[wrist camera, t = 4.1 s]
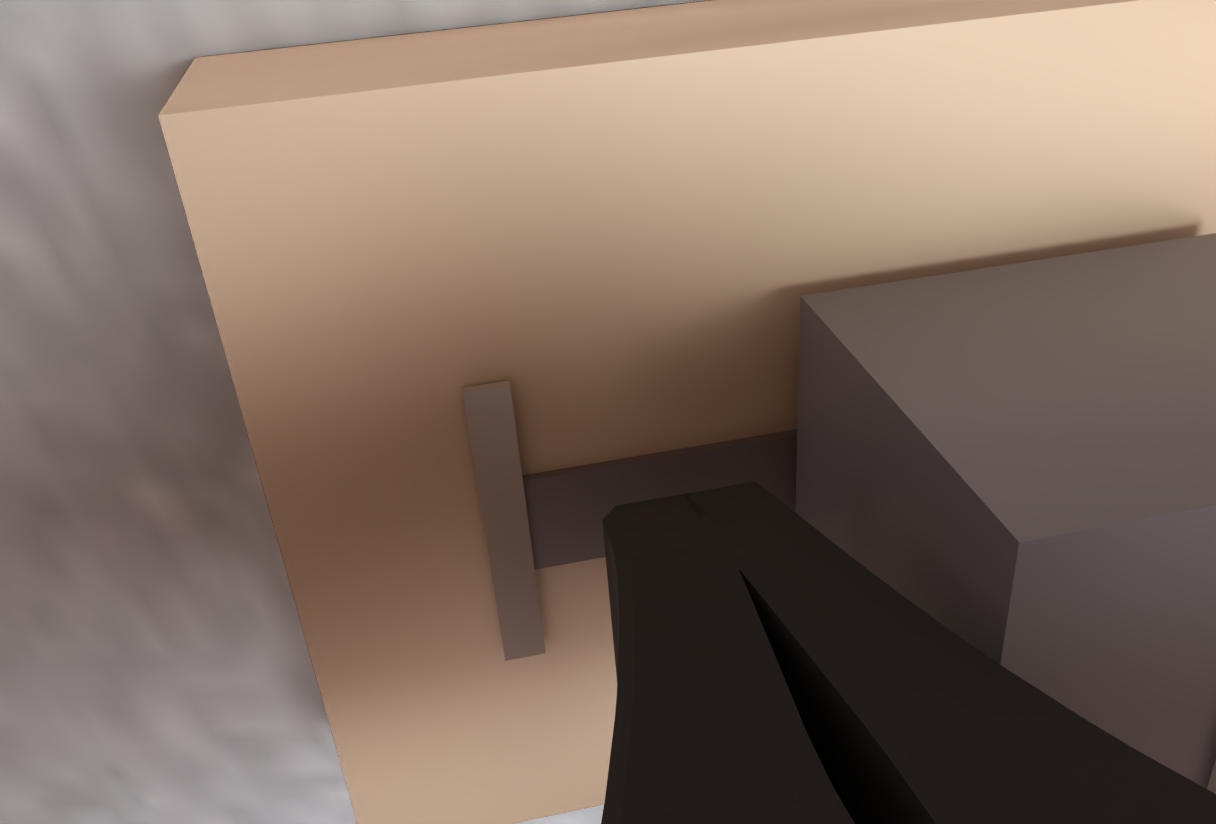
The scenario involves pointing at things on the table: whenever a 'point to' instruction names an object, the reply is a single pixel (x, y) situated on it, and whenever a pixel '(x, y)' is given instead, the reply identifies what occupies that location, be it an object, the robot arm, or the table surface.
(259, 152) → the fader console
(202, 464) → the table surface
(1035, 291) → the fader knob
